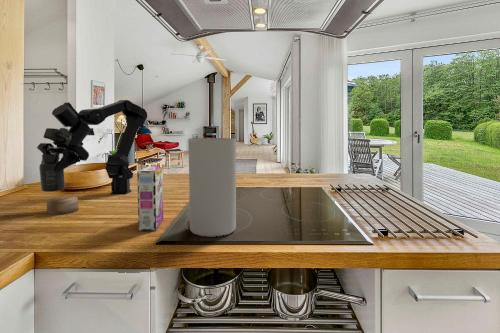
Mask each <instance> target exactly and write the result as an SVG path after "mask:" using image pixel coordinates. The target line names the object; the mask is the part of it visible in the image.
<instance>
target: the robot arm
mask: <svg viewBox="0 0 500 333" xmlns="http://www.w3.org/2000/svg"><path fill="white" fill-rule="evenodd" d="M118 113H122V114H123V115H124V116H125V121H126V122H125V123H126V126H125V128H124V132H123V134H122V136H121V139H120V141H119V144H118V148H117V149H116V152H115V154H113V155H109V156H108V157H107V161H106V163H105V171H106V173H107V177H108V179H111V182H110V183H111V184H110V187H111V192H110V194H112V195H115V194H117V195H121V194H123V195H126V194H129V193H131V192H132V191H133V190H132V189H131V185H130V184H131V183H130V182H131V181H130V179H133V177H134V173H133V171H132V170H131V169H130V168H129V166H130V162H129V159H128V158H129V155H130V152H131V149H132V147H133V145H134V141H135V138H136V136H137V133H138V131H139V129H140V128H141V127H142V126H143V125H144V124H145V122H146V120H147V119H148V112H147V111H146V109H145V108H143V107H141V106H140V105H138V104H135V103H134V102H132V101H131V100H128V99H119V100H117V101H115V102H113V103H110V104H106V105H104V106H102V107H98V108H87V109H81V110H80V111H79V112H78V111H77V110H76V109H75V108H74V106H72V104H71V102H70V101H69V102H67V101H66V102H63V104H60V105H59V106H56V107H55V108H54V109H53V110H52V112H51V115H52V116H53V117H54V118H55V119H56V120H57V121H58V122H59V123H60V124H61V125H62V126H63V127H60V128H55V127H54V128H50V127H49V128H46V129H45V131H44V133H43V135H42V136H43V138H44V139H48V140H50V141H52V143H51V142H50V143H48V142H41V143H39V144H38V145H37V146H36V148H37V150H38V151H40V152H41V153H42V155H44V154H59V156H60V155H61V154H62V157H61V158H60V159H59V163H58V164H57V166H56V168H55V170H54V171H55V172H59V171H61V170H63V169H65V170H66V169H67V168H70V167H71V166H72V165H75V164H77V163H80V162H81V161H83V162H85V161H86V162H87V160H88V159H89V157H90V153H89V151H88V150H87V149H86V148H85V147H84V142H83V141H84V140H85V139H86V138H87V136H95V132H94V128H93V127H90V126H99V125H100V124H101V123H103V122H104V121H105V120H106V119H107V118H109V117H111V116H114V115H116V114H118ZM68 127H69V129H68ZM54 145H55V146H54ZM41 163H43V160H42V159H41V162H40V164H41ZM39 171H40V169H39Z"/></svg>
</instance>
